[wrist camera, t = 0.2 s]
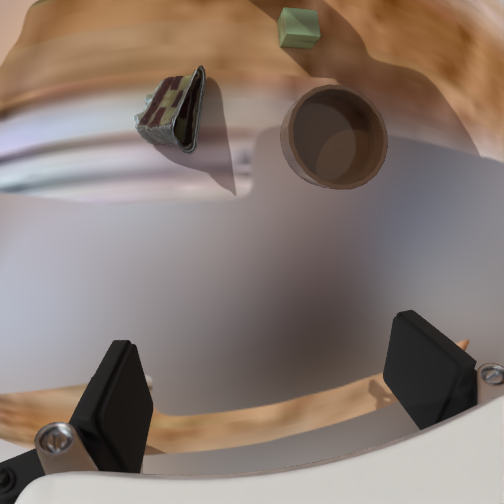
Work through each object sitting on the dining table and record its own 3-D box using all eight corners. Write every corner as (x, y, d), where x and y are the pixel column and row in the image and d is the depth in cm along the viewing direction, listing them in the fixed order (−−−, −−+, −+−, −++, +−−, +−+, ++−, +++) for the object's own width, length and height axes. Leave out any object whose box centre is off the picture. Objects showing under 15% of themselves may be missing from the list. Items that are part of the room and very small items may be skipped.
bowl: (277, 92, 36) (284, 81, 31) (366, 98, 37) (383, 90, 32) (282, 188, 39) (291, 190, 34) (371, 186, 40) (389, 189, 36)
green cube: (277, 21, 33) (283, 7, 29) (307, 23, 33) (316, 10, 29) (279, 46, 34) (286, 33, 30) (311, 48, 34) (320, 36, 30)
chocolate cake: (157, 64, 33) (108, 108, 27) (205, 61, 32) (164, 104, 26) (170, 119, 41) (133, 171, 35) (213, 119, 40) (182, 174, 34)
